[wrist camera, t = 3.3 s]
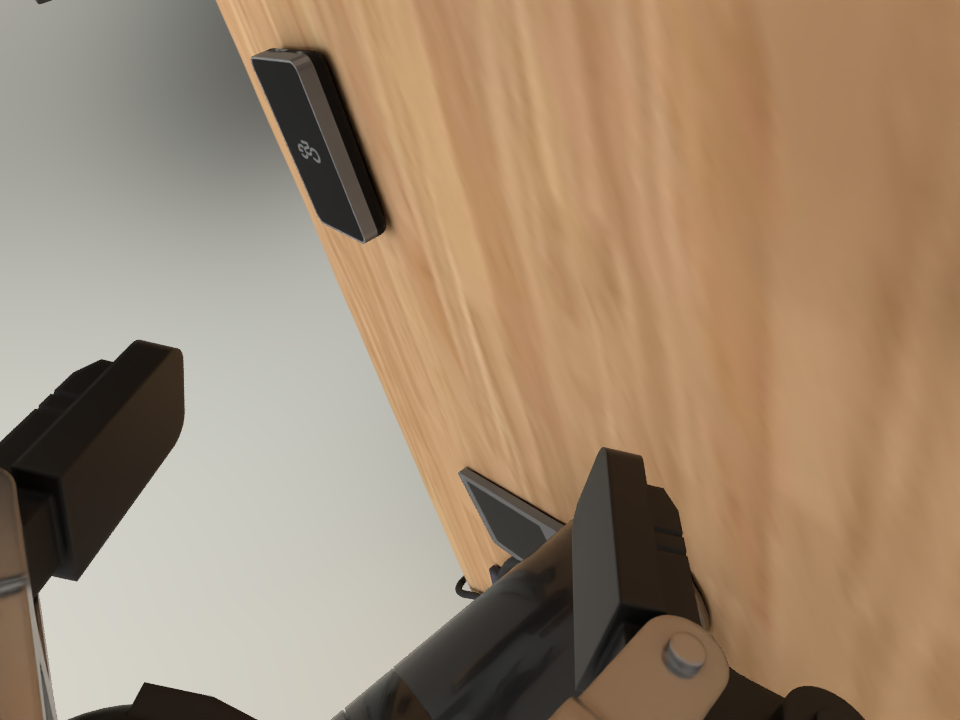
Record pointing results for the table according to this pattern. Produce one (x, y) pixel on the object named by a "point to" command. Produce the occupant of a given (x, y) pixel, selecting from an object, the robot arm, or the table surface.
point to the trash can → (42, 1)
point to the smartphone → (508, 517)
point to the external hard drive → (320, 140)
